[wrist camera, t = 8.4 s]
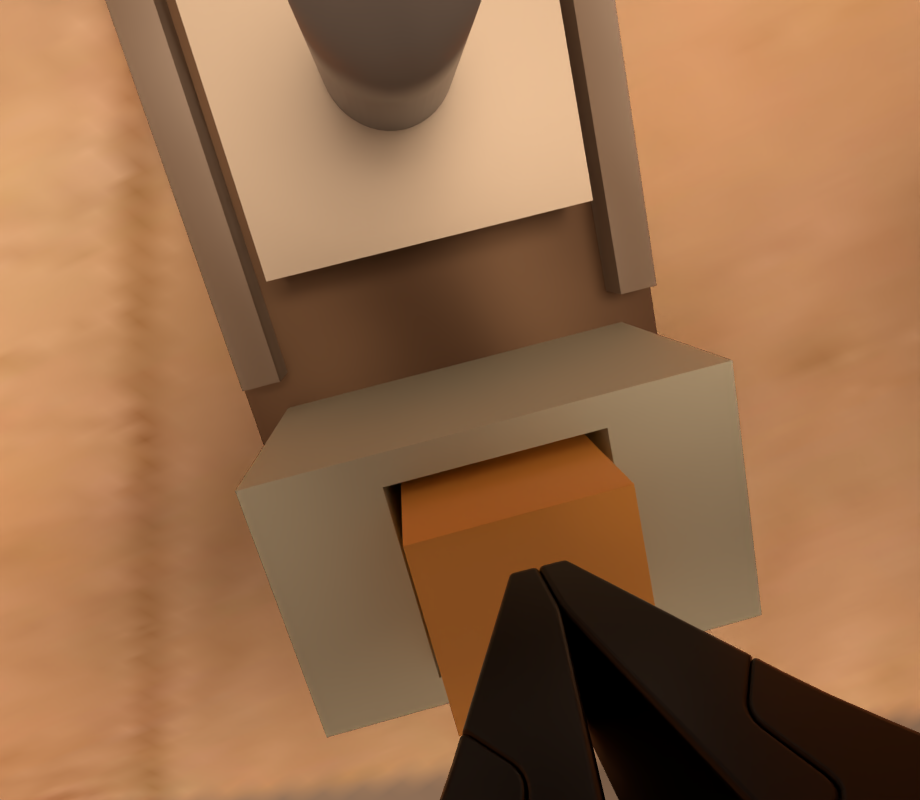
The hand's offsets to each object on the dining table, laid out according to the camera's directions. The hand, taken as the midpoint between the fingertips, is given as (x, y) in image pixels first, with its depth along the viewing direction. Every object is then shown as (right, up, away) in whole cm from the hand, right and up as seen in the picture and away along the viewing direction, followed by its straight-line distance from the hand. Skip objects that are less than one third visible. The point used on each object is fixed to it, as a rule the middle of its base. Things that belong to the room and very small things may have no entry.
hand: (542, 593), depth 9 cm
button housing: (-1, +1, +10) cm, 10 cm away
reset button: (0, 0, +7) cm, 7 cm away
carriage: (-3, +11, +6) cm, 13 cm away
